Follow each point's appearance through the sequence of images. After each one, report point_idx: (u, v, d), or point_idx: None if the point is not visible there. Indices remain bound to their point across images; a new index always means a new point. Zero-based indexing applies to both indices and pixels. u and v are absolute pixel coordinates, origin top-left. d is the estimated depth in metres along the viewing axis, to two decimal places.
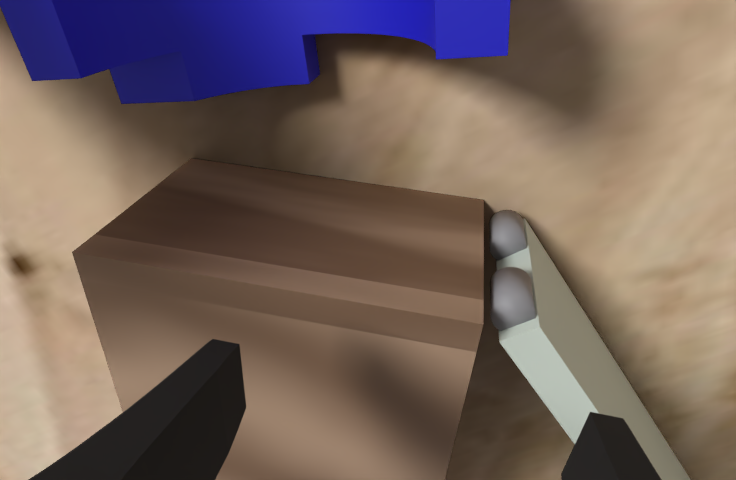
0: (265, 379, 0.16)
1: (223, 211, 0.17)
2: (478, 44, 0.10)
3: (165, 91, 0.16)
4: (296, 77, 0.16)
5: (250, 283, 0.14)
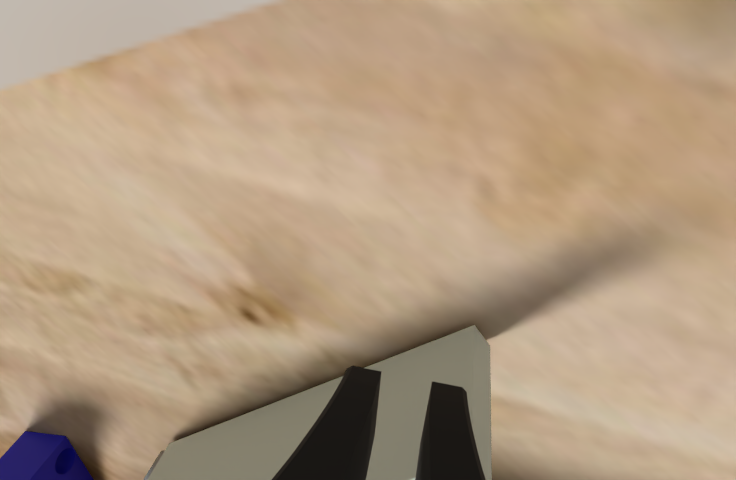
0: None
1: None
2: None
3: None
4: None
5: None
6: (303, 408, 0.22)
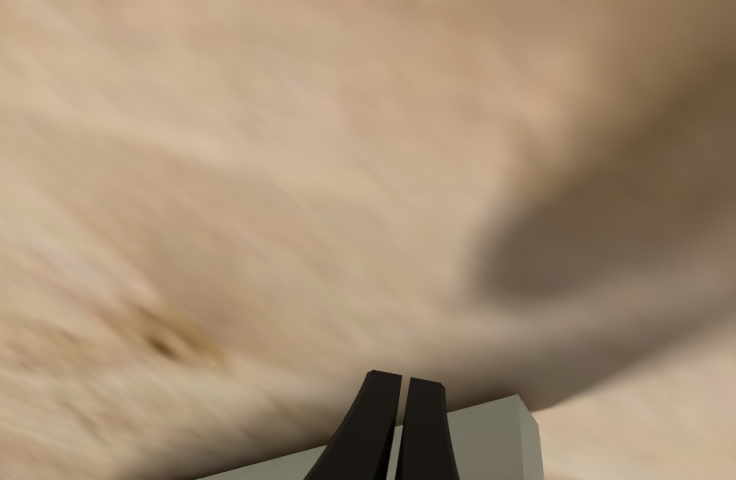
0: None
1: None
2: None
3: None
4: None
5: None
6: None
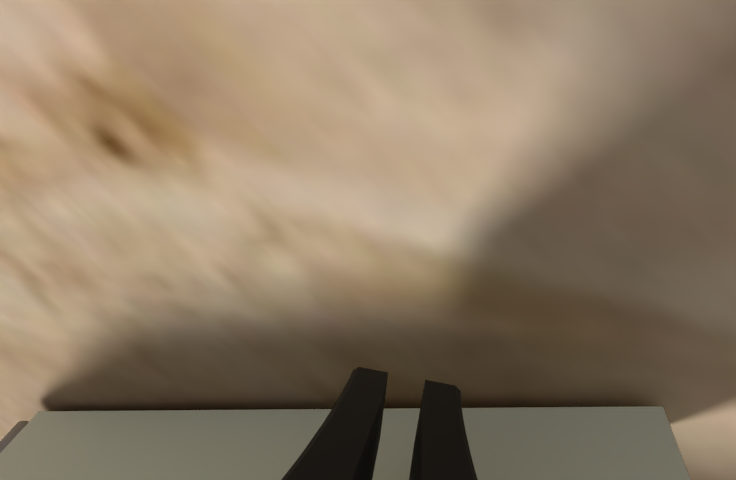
0: None
1: None
2: None
3: None
4: None
5: None
6: None
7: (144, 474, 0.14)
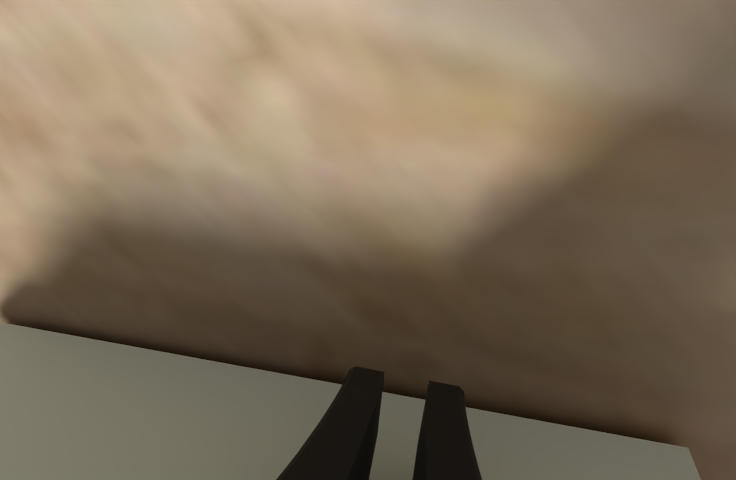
0: None
1: None
2: None
3: None
4: None
5: None
6: None
7: (141, 419, 0.12)
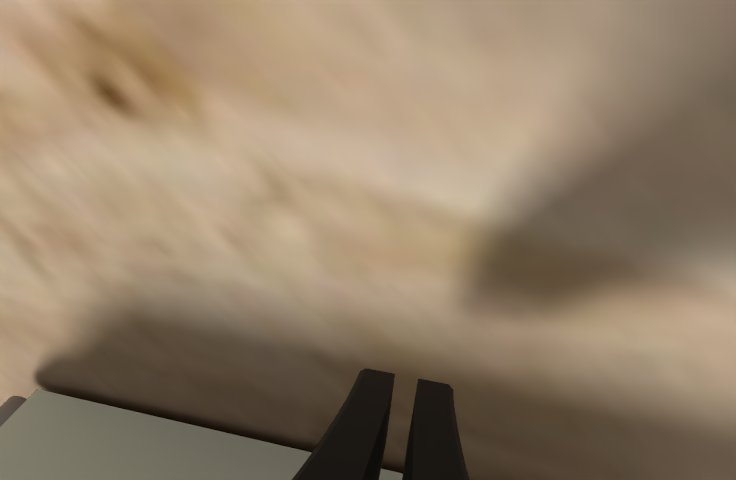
0: None
1: None
2: None
3: None
4: None
5: None
6: None
7: None
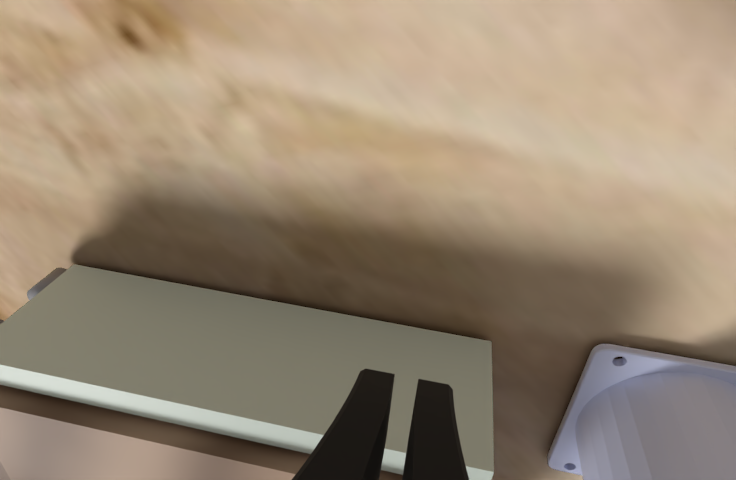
0: None
1: None
2: None
3: None
4: None
5: None
6: (286, 322, 0.21)
7: (167, 318, 0.21)
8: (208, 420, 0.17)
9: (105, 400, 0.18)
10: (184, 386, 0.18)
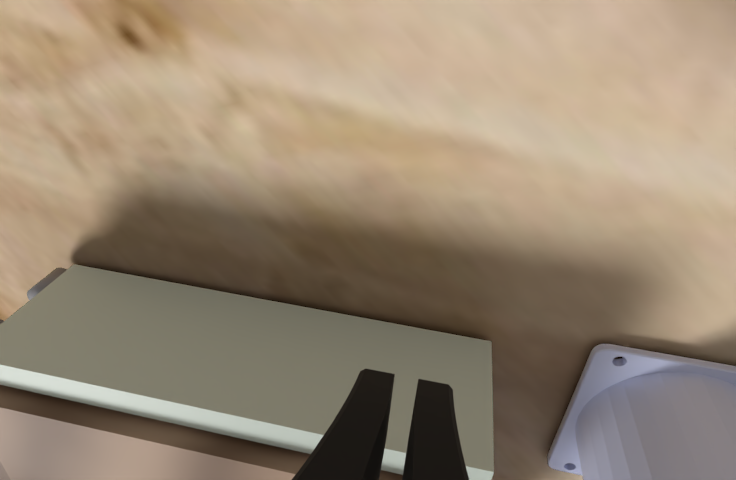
0: None
1: None
2: None
3: None
4: None
5: None
6: (286, 322, 0.21)
7: (167, 318, 0.21)
8: (208, 420, 0.17)
9: (105, 400, 0.18)
10: (184, 386, 0.18)
